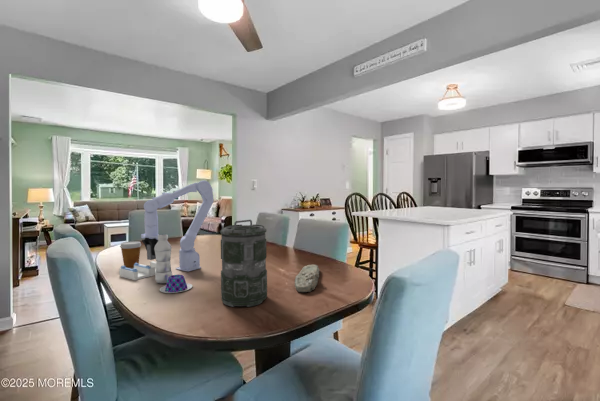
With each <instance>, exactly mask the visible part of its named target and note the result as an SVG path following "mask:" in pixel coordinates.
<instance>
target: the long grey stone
mask: <svg viewBox="0 0 600 401" xmlns="http://www.w3.org/2000/svg"><path fill="white" fill-rule="evenodd" d="M319 278H320V268H319V265H317V264H308V265H304V266H303V267H302V269H301V270H299V273H298V274H296V276H295V279H294V287H295V288H294V289H295V290H296V291H297V292H298V293H307V292H308V293H311V292H312V290H315V289H316V287H317V285H318V283H319V282H318V281H319Z"/></svg>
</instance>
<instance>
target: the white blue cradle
mask: <svg viewBox="0 0 600 401" xmlns="http://www.w3.org/2000/svg"><path fill="white" fill-rule="evenodd" d="M149 264H150V265H147V264H141V263H140V262H139V263H135V264H134V267H133V268H126V266H124V265H121V266H120V268H119V269H118V270H119V277H121V278H125V279H128V280H132V281H137V280H141V279H144V278H149V277H153V276H155V274H156V261H154V260H151V261H149Z"/></svg>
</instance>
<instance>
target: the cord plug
mask: <svg viewBox="0 0 600 401" xmlns="http://www.w3.org/2000/svg"><path fill="white" fill-rule="evenodd" d="M146 259H147V260H148V261H149V260H150V261H154V260H156V255H152V252H151V246H150V244H147V250H146Z"/></svg>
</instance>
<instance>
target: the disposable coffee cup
mask: <svg viewBox="0 0 600 401" xmlns="http://www.w3.org/2000/svg"><path fill="white" fill-rule="evenodd" d="M141 242H142V241H135V240H134V241H133V240H131V241H125V242H121V243H120V246H119V247H120V249H121V254H122V255H121V256H122V262H123V266H126V268H130V269H134V264H135V263H139V264H140V255H141V248H142V247H141V246H142V243H141Z"/></svg>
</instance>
